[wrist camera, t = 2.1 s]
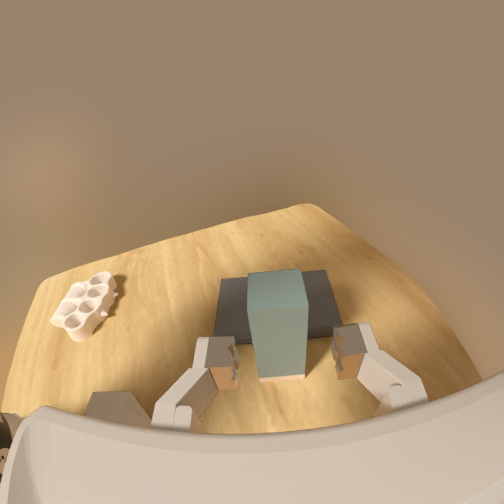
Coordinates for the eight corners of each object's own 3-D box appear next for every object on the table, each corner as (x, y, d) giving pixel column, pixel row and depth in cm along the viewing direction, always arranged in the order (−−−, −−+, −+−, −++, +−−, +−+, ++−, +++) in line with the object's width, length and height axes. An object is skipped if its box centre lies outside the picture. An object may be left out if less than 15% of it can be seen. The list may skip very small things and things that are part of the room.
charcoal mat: (213, 345, 41) (211, 340, 40) (221, 279, 54) (220, 274, 54) (344, 333, 40) (345, 328, 39) (324, 270, 53) (325, 265, 53)
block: (259, 382, 35) (247, 310, 27) (259, 348, 40) (247, 273, 32) (304, 378, 34) (308, 305, 27) (299, 344, 39) (300, 268, 32)
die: (173, 425, 30) (129, 367, 30) (153, 467, 22) (95, 401, 21) (131, 436, 31) (90, 384, 31) (108, 473, 22) (57, 415, 22)
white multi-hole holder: (82, 284, 59) (131, 281, 58) (48, 339, 44) (101, 344, 43) (76, 273, 57) (126, 269, 56) (40, 327, 42) (92, 332, 41)
